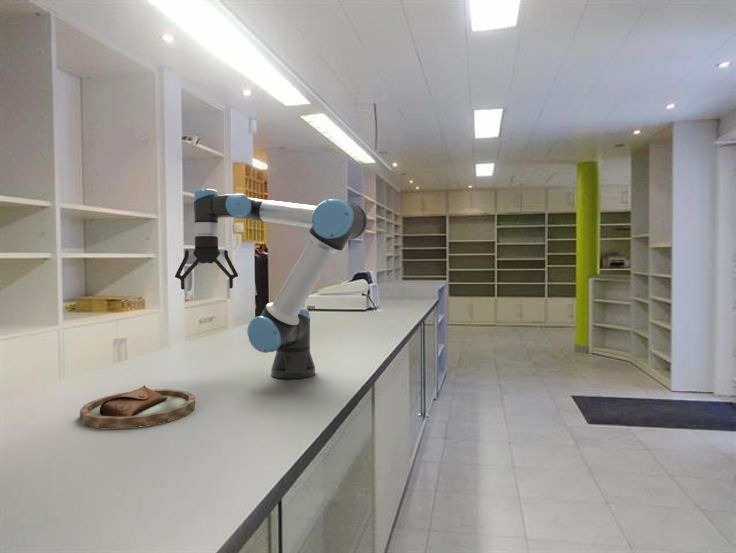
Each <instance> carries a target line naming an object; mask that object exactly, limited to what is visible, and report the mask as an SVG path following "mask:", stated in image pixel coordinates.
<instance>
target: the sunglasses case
mask: <svg viewBox="0 0 736 553" xmlns="http://www.w3.org/2000/svg"><path fill="white" fill-rule="evenodd" d="M152 390H153V389H150V388H148V387H146V385H142V387H140V388H139V387H138V388H137V389H134V390H130V391H127V392H128V393H126V394H123V395H121V396H119V397H115V398H112V399H109V400H107V401H105V402H104V403H103V404H102V405H101V407H100V415H101V416H114V417H125V416H133V415H135V414H137V413H139V412H141V411H143V410H146V409H148V408H150V407H153V406H155V405H157V404H159V403H161V402H163V401H164V400H166V399H168V397H165V396H163V395H161V394H159V393H157V392H155V391H152Z"/></svg>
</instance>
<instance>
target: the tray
mask: <svg viewBox="0 0 736 553" xmlns="http://www.w3.org/2000/svg"><path fill="white" fill-rule="evenodd" d="M151 390H152V391H155V392H157V393H159V394H161V395H163V396H165V397H168V399H166V400H164V401H163V402H161V403H159V404H157V405H155V406H153V407H150V408H148V409H146V410H143V411H141V412H139V413H137V414H135V415H133V416H125V417H114V416H101V415H100V407H101V405H102V404H103V403H104V402H105V401H107V400H109V399H112V398H115V397H119V396H121V395H123V394H126V393H128V392H129V391H127V392H121V393H115V394H110V395H107V396H104V397H99V398H97V399H94V400H91V401H90V402H87V403H85V404H84V405H83V406H82V407H81V408H80V410H79V420H80V422H81V423H82V424H83V425H84V427H90V428H94V429H95V428H96V429H98V428H100V430H101V428H106V429H105V430H108V429H107V428H110V429H109V430H122V429H121V428H128V429H131V428H130V427H138V428H140V427H139V426H147V427H149V426H148V425H152V426H155V425H154V424H157V425H160V424H159V423H162V424H164V423H163V422H167V423H169V422H168V421H170V422H172V421H171V420H173V421H175V420H174V419H176V420H178V419H177V418H179V419H181V418H180V417H182V418H184V417H186V416H188V415H190V414H191V413H193V410H194V411H195V407H196V395H195V394H193V393H192V392H189V391H185V390H179V389H169V388H168V389H166V388H165V389H164V388H162V389H161V388H156V389H155V388H154V389H153V388H152V389H151ZM190 412H191V413H190ZM187 414H188V415H187ZM183 416H184V417H183ZM112 428H113V429H112Z"/></svg>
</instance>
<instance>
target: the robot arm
mask: <svg viewBox="0 0 736 553" xmlns="http://www.w3.org/2000/svg"><path fill="white" fill-rule="evenodd" d="M193 193H194V195H193V212H194V235H195V237H194V250H188V249H186V250H185V251H184V257H183V259H182V260H181V263H180V265H179V266H178V269H177V271H176V273H175V275H174V277H175V279H178V280H180V289H181V290H184V300H185V301H186V300H188V279H186V278H187V277H188V276H189V274H190V273H191V272H192V271H193V270H194V268H196V267H197V265H198V264H199V263H200V264H213V263H215V264H216V266H218V268H219V269H221V271H222V272H223V273H224V274H225V276H227V277H228V278H227V279H226V298H227V299H230V291H231V290H230V289H233V288H234V281H233V280H234V279H235V278H238V277H239V274H238V272H237V271H236V270H237V269H236V268H235V266H234V264H233V263H232V260H231V259H230V257H229V250H227V249H225V250H219V237H218V236H217V235H219V221H218V220H219V218H233V219H243V220H250V221H254V222H255V221H256V222H266V223H271V224H280V225H286V226H294V227H302V228H308V229H309V230H308V233H309V240H308V242H307V244H306V246H305V248H304V250H303V251H302V252H301V255H300V256H299V258H298V260H297V262H296V263H295V265H294V266H293V268H292V270H291V271H290V274H289V275H288V277H287V279H286V281H285V282H284V284H283V285H282V287H281V288H280V291H279V292H278V294H277V296H276V297H275V300H274V301H273V302H272V301H271V302H268V303H266V305H265V307H264V309H263V310H262V311H261V314H260V315H258V316H255V317H254V318H253V319H251V321H249V323H248V326H247V331H246V332H247V333H246V334H247V337H248V341H249V343H250V345H251V346H252V347H253V349H255V350H256V351H258V352H260V353H263V354H264V353H265V354H266V353H274V352H275V355H274V359H273V362H272V366H271V369H270V371H271V372H270V375H271V377H273V378H274V379H275V378H276V379H281V380H282V379H283V380H292V379H293V380H297V379H304V378H305V379H306V378H309V377H313V376H314V375H315V374H316V366H315V363H314V360H313V356H312V354H311V317H310V311H309V309H307V308H303V307H304V306H305V303H306V302H307V301H308V298H309V297H310V295H311V294H312V293H313V290H314V288H315V287H316V285H317V284H318V282H319V280H320V279H321V277H322V275H323V273H324V271H326V268H327V267H328V265H329V264H330V262H331V260H332V258H333V256H334V255H335V254H337V253H340V252H342V251H343V249H344V248H345V246H346V245H347V243H348V242H349V240H355V239H358V238H359V237H361V236H362V235H363V234H364V233H365V232H366V230H367V226H368V216H367V213H366V212H365V210H364V208H362V207H361V206H360V205H358V204H356V203H353V202H350V201H349V202H348V201H346V200H343V199H339V198H329V199H326V200H323V201H322V202H320V203H318V205H311V204H301V203H293V202H285V201H276V200H269V199H268V200H267V199H259V198H254V197H248V195H246V194H245V193H230V194H218V191H217V190H216V189H211V188H199V189H196V190H195V191H194V192H193ZM192 255H193V256H194V257H195V260H194V261H193V263H192V264H191V265H190V266H189V267H188V269H187V270H185V271H184V273H183V274H182V271H183V269H184V268H185V266H186V264H187V262H188V260H189V258H191V257H192ZM219 256H221V257H223V258H224V259H225V262H226V263H227V265H228V267H229V268H230V271H231V272H229V271H228V269H226V267H224V266H225V265H224V264H222V263H221V262H220V260H218V257H219ZM231 273H232V274H231ZM181 274H182V275H181Z"/></svg>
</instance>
